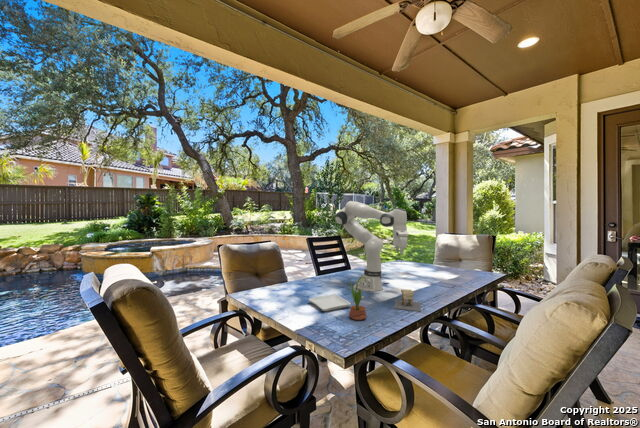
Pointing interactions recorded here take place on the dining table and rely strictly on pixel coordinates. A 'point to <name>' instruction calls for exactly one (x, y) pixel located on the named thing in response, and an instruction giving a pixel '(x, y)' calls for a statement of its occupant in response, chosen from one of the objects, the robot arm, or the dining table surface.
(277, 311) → the dining table surface
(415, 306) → the grey-brown square panel
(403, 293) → the birch stool
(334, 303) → the salad plate
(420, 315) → the dining table surface
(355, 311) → the potted flower
